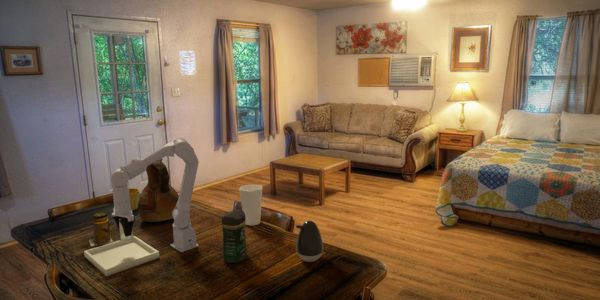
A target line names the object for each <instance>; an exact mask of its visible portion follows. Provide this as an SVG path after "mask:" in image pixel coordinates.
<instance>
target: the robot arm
mask: <svg viewBox="0 0 600 300" xmlns="http://www.w3.org/2000/svg"><path fill="white" fill-rule="evenodd" d="M175 155H176V156H177V158H179V159H182V161H183V162H184V163H185V165H184V170H183V175H182V180H181V185H180V190H179V194H178V195H179V199H178V202H177V203H176V207H175V209H174V210H173V212H172V217H173V218H174V219H173V223H172V234H173V243H171V244H169V246H170V247H172V248H173V249H175V250H177V251H179V252H180V253H184V252H186V251H189V250H191V249H195V248H197V247H199V244H198V243H197V235H196V234H197V233H196V230H195V229H193V227H192V222H191V215H190V214H191V202H192V197H193V192H194V188H195V182H196V179H197V177H196V176H197V173H198V168H199V162H200V161H199V158H198V156H197V154H196V152H195V150H194V148H193V146H191V144H190V143H189V142H188V141H187V140H186V139H185V138H183V137H179V138H175V139H174V140H173V141H170V142H167V143H166V144H164V145H163V146H161V147H159V148H158V149H156V150H154V151H153V152H151V153H150V154H149V155H147V156H145V157H143V158H139V157H137V158H132V159H131V161H130V162H129V163H127V164H125V165H121V166H119V168H116V169H115V170H113V171H112V173H111V176H110V181H111V183H112V186H111V187H112V198H113V206H114V207H112V209H113V210H112V211H113V212H112V213H111V218H112V219H113V220H114V222H115V225H116V226H117V229H118V232H119V233H120V227H119V222H120V223H121V225H122V227H123V231H124V234H125V236H126V237H127V236H131V234H132V228H133V226H134V224H135V221H136V217H135V215H133V210H131V205H130V195H129V188H130V187H129V185H128V184H129V180H132V179H134V178H136V177H137V176H139V175H141V174H143V173H144V172H146V169H147V166H148V165H150V164H152V163H154V162H156V161H158V160H160V159H163V158H165V157H171V158H174V157H175ZM120 217H124V219H121V220H119V218H120Z"/></svg>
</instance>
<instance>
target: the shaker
mask: <svg viewBox="0 0 600 300" xmlns="http://www.w3.org/2000/svg"><path fill="white" fill-rule="evenodd" d="M121 219H124V217H120V218H119V220H121ZM119 227H120V232H119V240H120V241H121V242H123V243H127V242H131V241H133V236H134V233H133V232H134V231H133V228H132V234H131V236H127V237H126V236H125V234H124V231H123V227H122V225H121V223H120V222H119Z"/></svg>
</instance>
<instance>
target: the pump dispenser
mask: <svg viewBox="0 0 600 300" xmlns="http://www.w3.org/2000/svg"><path fill="white" fill-rule="evenodd" d="M295 228H296V229H299V231H298V235H297V239H296V246H295V252H296V253H297V255H298V257H299V259H301V260H302V261H304V262H308V263H312V262H313V263H314V262H316V261H317V260H319V259H320V258H321V257H322V255H323V251H324V245H323V238H322V233H321V232H320V229H319V227H318V225H317V224H316V222H315V221H313V220H306V221H304V222H303V223H302V225H300V224H296V225H295Z"/></svg>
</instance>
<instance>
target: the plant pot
mask: <svg viewBox="0 0 600 300" xmlns="http://www.w3.org/2000/svg"><path fill="white" fill-rule="evenodd" d="M128 188H129V195H130V205H131V210H132V211H135V210H137V209H138V202H139V198H140V194H141V191H140V189H139V188H137V187H132V188H131V187H128Z"/></svg>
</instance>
